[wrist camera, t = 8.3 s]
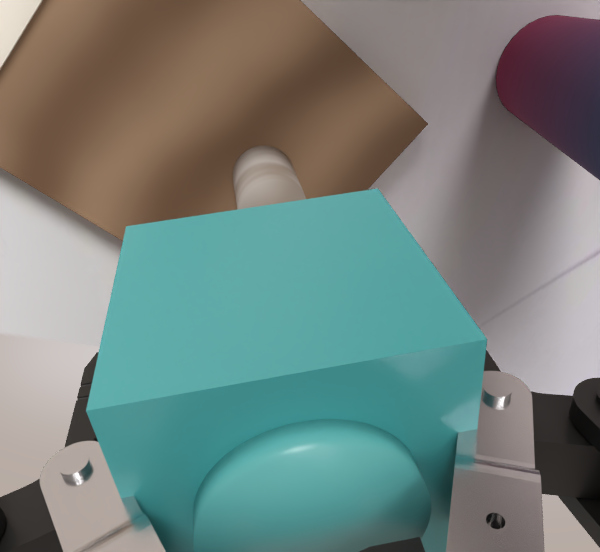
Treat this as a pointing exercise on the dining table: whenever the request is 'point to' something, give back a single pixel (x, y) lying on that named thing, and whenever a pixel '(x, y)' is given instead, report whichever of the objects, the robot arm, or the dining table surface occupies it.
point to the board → (188, 107)
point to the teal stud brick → (285, 379)
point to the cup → (556, 84)
